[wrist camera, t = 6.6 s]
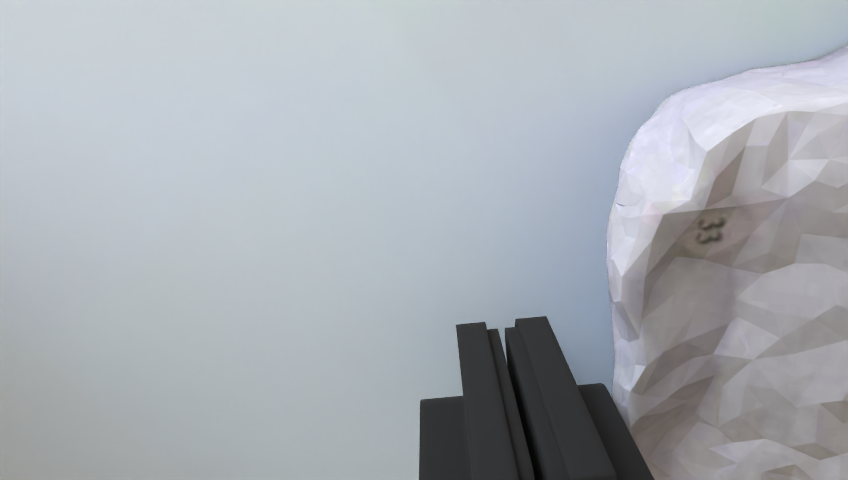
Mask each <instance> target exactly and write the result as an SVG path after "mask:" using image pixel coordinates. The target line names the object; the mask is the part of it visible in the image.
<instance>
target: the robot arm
mask: <svg viewBox="0 0 848 480" xmlns="http://www.w3.org/2000/svg"><path fill="white" fill-rule="evenodd" d="M456 329H457V338H458V348H459V358H460V368H461V377H462V387H463V396H456V397H445V398H434V399H423V400H421V402H420V458H419V480H655V479H654V478H653V476H652V474H651V472H650V470H649V468H648V466H647V464H646V462H645V460H644V458H643V457H642V455H641V453H640V451H639V449H638V447H637V445H636V443H635V441H634V439H633V438H632V436H631V434H630V432H629V430H628V428H627V426H626V424H625V422H624V420H623V418H622V417H621V415H620V413H619V411H618V409H617V407H616V405H615V403H614V401H613V399H612V398H611V396H610V394H609V392H608V390H607V388H606V387H605V386H604V385H603V384H601V383H598V384H587V385H577V384H576V382H575V380H574V378H573V375H572V373H571V371H570V369H569V366H568V364H567V362H566V360H565V357H564V355H563V353H562V351H561V348H560V346H559V344H558V342H557V339H556V337H555V335H554V333H553V330H552V328H551V326H550V324H549V321H548V319H547V317H546V316H543V317H533V318H523V319H516V321H515V327H511V328H505V341H506V355H507V363H506V359H505V355H504V351H503V347H502V343H501V339H500V336H499V332H498V329H489V330H487V328H486V323H485V322H481V323H470V324H460V325H456Z"/></svg>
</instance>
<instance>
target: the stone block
mask: <svg viewBox="0 0 848 480" xmlns="http://www.w3.org/2000/svg"><path fill="white" fill-rule="evenodd" d="M606 240H607V244H608V246H607V273H608V283H609V295H610V305H611V312H612V323H613V340H614V351H615V360H614V368H615V372H614V377H613V383H612V399H613V401H614V403H615V405H616V407H617V409H618V411H619V413H620V415H621V417H622V418H623V420H624V422H625V424H626V426H627V428H628V430H629V432H630V434H631V436H632V438H633V439H634V441H635V443H636V445H637V447H638V449H639V451H640V453H641V455H642V457H643V458H644V460H645V462H646V464H647V466H648V468H649V470H650V472H651V474H652V476H653V478H654V479H655V480H848V46H846V47H844V48H841V49H839V50H837V51H835V52H832V53H830V54H828V55H825V56H823V57H821V58H819V59H815V60H810V61H805V62H799V63H794V64H789V65H781V66H773V67H764V68H755V69H750V70H747V71H745V72H742V73H739V74H736V75H733V76H730V77H727V78H724V79H722V80H719V81H717V82H711V83H705V84H701V85H698V86H694V87H688V88H686V89H684V90H681V91H679V92H676V93H674V94H673V95H671V96H670V97H668V98H667V99H665V100H664V101H662V103H661V104H660V106H659V107H658V109H657V110H656V112H655V113H654V114H653V115H652V116H651V117H650V118H649V119H648V120H647V121H646V122H645V123H644V124H643V125H642V126H641V127H640V128H639V129H638V131H637V132H636V134H635V135H634V137H633V138H632V140H631V142H630V144H629V146H628V149H627V151H626V153H625V155H624V158H623V160H622V163H621V165H620V173H619V183H618V187H617V190H616V194H615V197H614V201H613V204H612V208H611V212H610V216H609V221H608V227H607V232H606Z"/></svg>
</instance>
